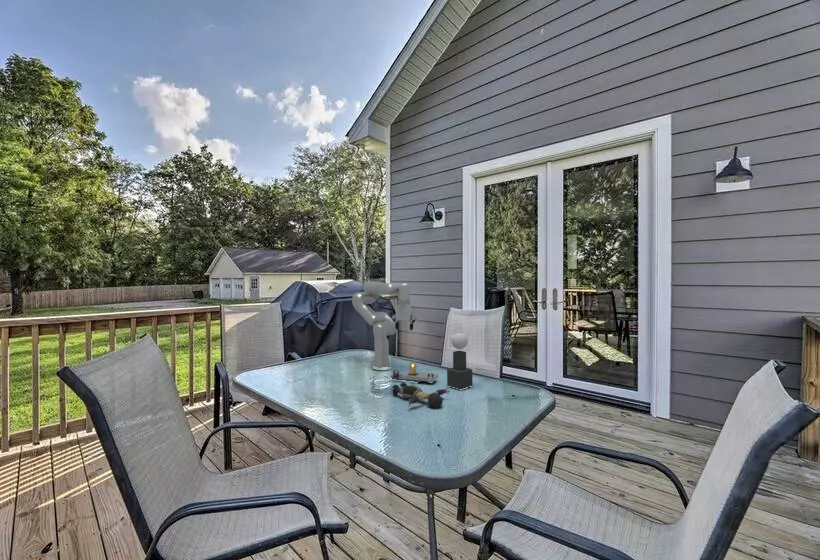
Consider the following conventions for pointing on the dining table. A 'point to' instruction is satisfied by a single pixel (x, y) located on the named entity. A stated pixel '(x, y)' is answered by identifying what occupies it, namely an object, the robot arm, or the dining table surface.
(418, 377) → the grey flat block
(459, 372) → the sculpture
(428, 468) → the dining table surface
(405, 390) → the toy
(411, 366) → the pin
